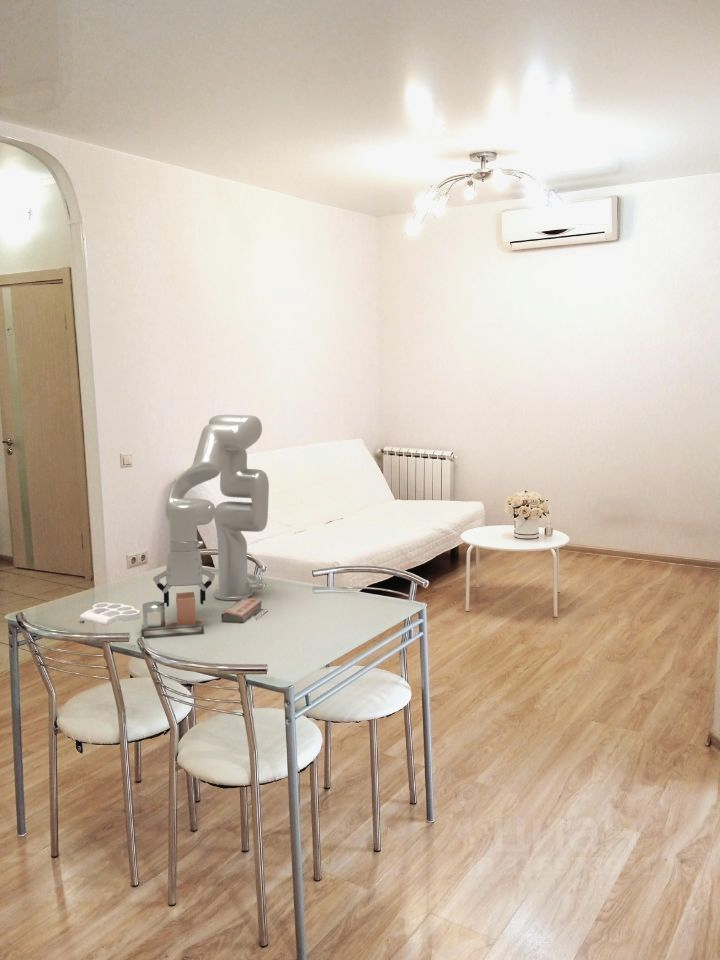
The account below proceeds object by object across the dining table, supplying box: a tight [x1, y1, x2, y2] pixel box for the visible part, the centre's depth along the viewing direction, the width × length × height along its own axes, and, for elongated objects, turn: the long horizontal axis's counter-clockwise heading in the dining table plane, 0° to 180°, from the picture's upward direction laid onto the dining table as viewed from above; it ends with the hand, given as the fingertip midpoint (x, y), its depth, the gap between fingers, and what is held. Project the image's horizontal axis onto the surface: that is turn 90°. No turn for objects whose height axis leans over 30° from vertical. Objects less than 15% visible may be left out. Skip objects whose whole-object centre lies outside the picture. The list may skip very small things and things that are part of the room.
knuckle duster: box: [79, 601, 141, 626], centre depth 244 cm, size 3×18×15 cm
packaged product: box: [220, 597, 268, 624], centre depth 244 cm, size 18×5×10 cm
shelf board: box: [140, 620, 205, 639], centre depth 231 cm, size 17×12×4 cm
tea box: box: [175, 591, 197, 626], centre depth 234 cm, size 7×5×9 cm
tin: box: [142, 600, 166, 629], centre depth 229 cm, size 6×6×8 cm
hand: (184, 604), depth 233 cm, fingers open, 9 cm apart
